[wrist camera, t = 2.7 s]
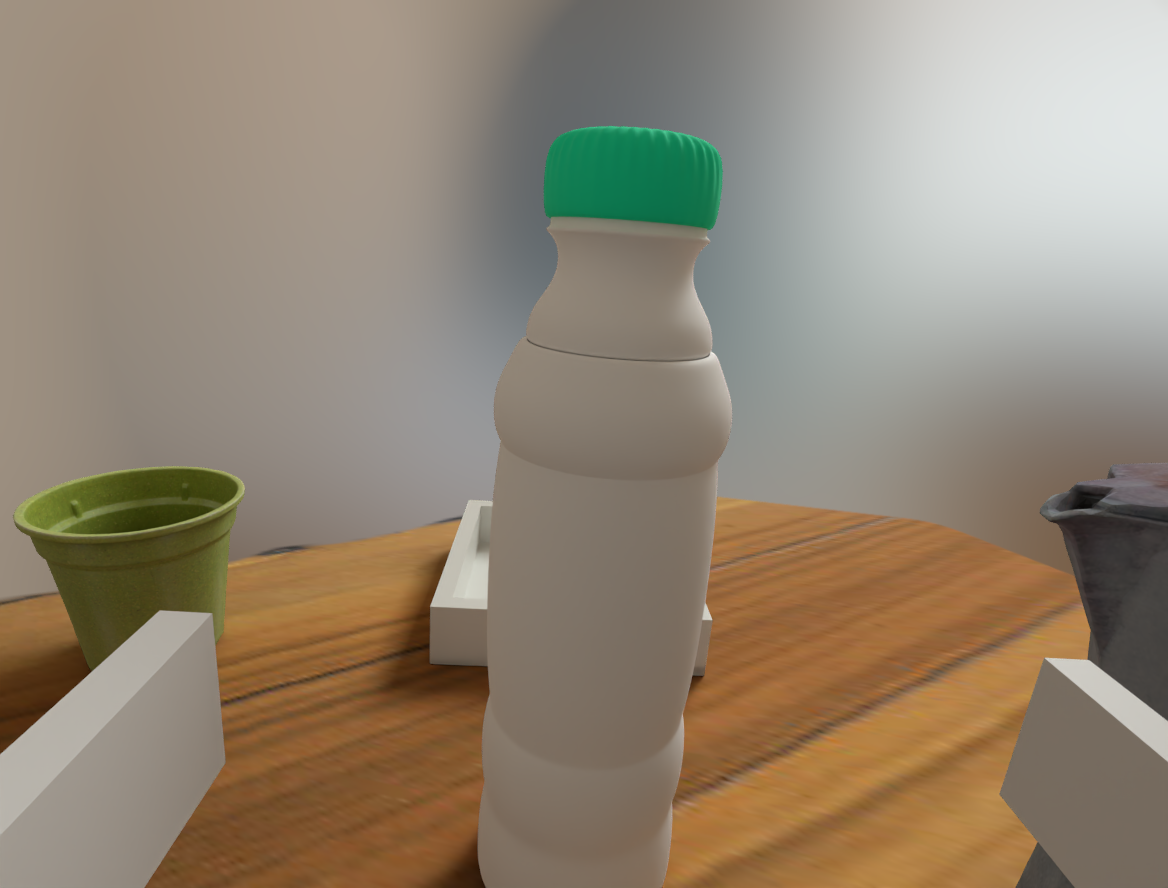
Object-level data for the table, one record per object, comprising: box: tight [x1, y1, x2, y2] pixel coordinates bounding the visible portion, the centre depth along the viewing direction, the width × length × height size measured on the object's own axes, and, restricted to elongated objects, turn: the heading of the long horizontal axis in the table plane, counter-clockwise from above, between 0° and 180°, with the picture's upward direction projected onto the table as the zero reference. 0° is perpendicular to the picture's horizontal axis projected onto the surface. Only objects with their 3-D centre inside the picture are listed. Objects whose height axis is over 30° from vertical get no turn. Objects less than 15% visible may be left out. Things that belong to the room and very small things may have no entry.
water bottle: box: [478, 126, 732, 888], centre depth 21 cm, size 7×7×25 cm
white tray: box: [430, 500, 712, 676], centre depth 42 cm, size 15×15×4 cm
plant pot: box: [13, 466, 245, 671], centre depth 34 cm, size 9×9×9 cm
